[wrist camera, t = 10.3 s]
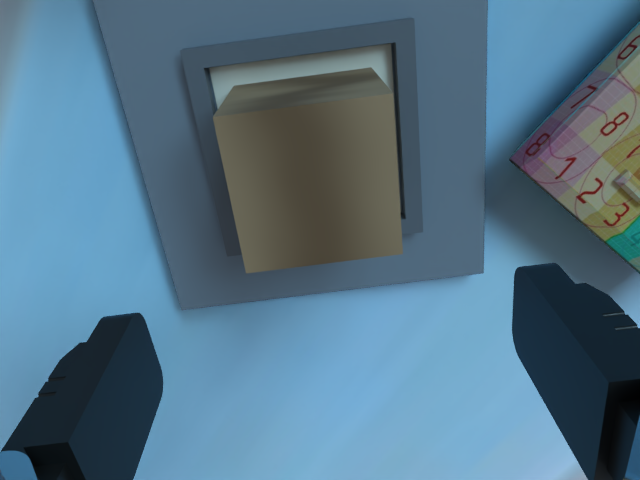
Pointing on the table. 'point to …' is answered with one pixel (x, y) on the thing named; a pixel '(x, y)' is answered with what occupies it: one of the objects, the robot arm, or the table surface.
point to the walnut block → (312, 169)
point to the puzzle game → (595, 151)
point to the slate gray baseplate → (289, 62)
